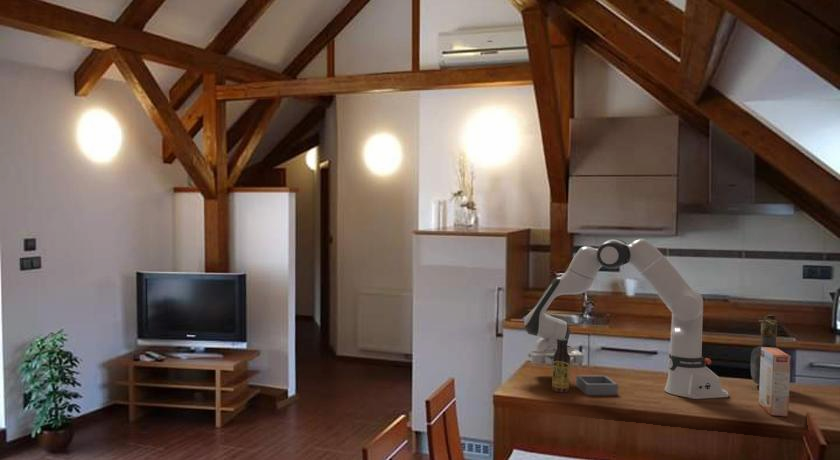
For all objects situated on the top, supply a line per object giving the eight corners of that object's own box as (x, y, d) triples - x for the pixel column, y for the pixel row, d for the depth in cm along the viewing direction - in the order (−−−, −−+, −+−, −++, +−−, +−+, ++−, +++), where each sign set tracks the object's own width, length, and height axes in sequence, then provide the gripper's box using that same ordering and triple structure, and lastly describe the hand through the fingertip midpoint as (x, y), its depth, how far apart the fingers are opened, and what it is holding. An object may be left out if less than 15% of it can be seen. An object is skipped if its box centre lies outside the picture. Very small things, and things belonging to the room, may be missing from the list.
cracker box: (789, 417, 227) (791, 355, 226) (770, 416, 228) (772, 354, 228) (776, 405, 241) (778, 347, 240) (758, 404, 242) (760, 346, 241)
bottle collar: (606, 385, 264) (606, 375, 264) (617, 395, 251) (617, 384, 251) (576, 385, 263) (576, 375, 263) (586, 395, 250) (586, 384, 250)
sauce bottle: (550, 392, 254) (550, 339, 253) (553, 388, 260) (553, 336, 259) (568, 394, 251) (568, 340, 251) (570, 389, 257) (571, 337, 256)
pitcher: (755, 393, 256) (758, 314, 255) (746, 381, 274) (749, 307, 273) (787, 396, 253) (790, 316, 252) (776, 383, 271) (779, 309, 270)
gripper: (526, 346, 268) (534, 354, 254) (577, 346, 269) (588, 354, 255) (526, 362, 268) (534, 370, 254) (577, 362, 269) (587, 370, 255)
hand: (561, 362), depth 255 cm, fingers closed on sauce bottle, 6 cm apart
